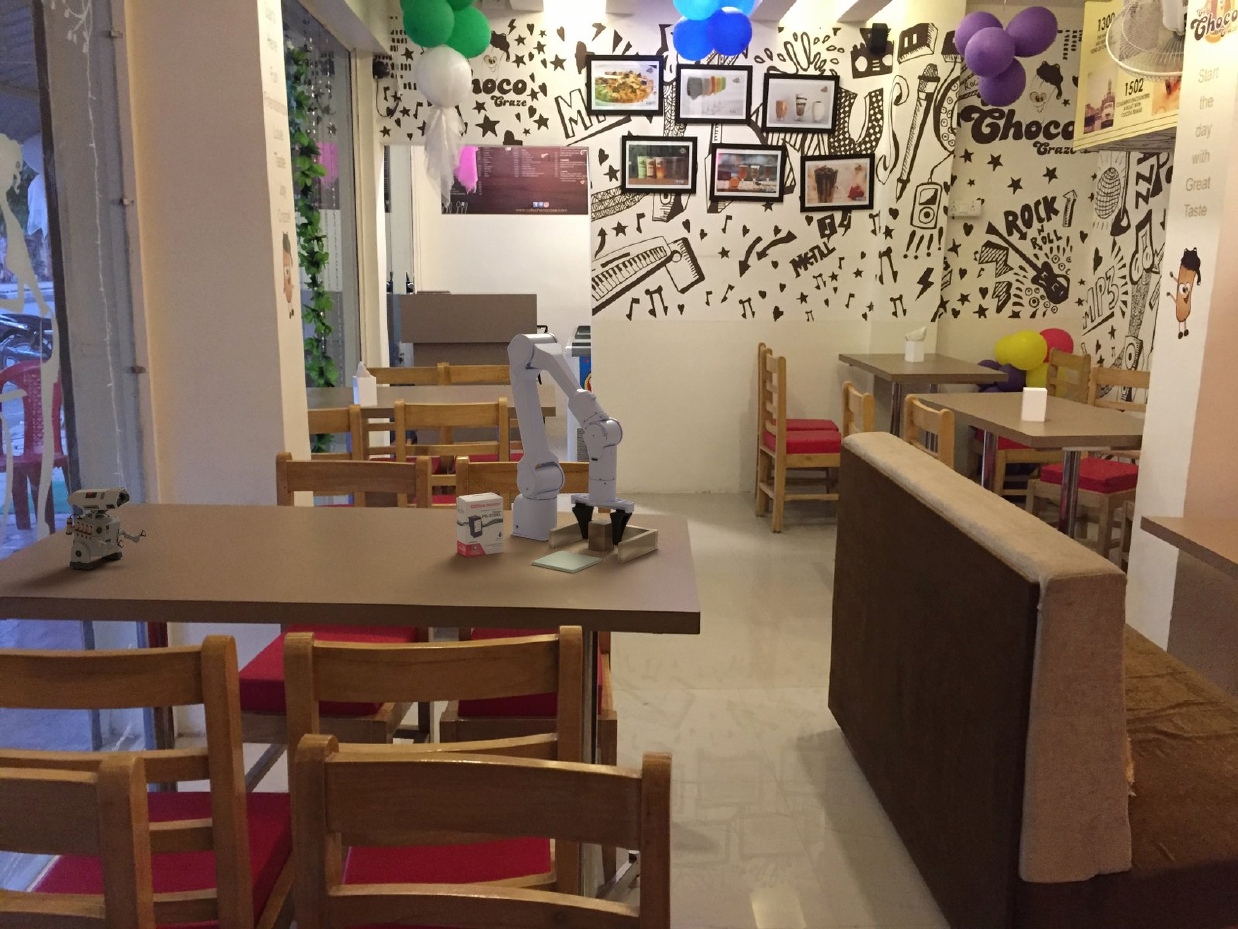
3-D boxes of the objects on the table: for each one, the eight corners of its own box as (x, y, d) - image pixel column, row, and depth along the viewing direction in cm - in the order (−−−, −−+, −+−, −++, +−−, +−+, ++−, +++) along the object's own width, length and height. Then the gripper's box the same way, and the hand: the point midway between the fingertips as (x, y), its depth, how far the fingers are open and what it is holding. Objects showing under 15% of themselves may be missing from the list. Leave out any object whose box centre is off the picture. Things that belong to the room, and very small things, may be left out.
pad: (531, 564, 198) (531, 561, 198) (561, 553, 206) (561, 550, 206) (573, 573, 193) (573, 570, 193) (601, 561, 201) (601, 558, 201)
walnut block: (588, 550, 210) (588, 522, 208) (598, 546, 213) (599, 518, 212) (604, 553, 207) (604, 525, 206) (614, 549, 211) (615, 521, 210)
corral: (548, 548, 210) (548, 530, 209) (585, 535, 221) (586, 517, 221) (623, 563, 200) (623, 543, 199) (657, 548, 212) (658, 529, 211)
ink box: (466, 558, 202) (466, 500, 200) (456, 552, 206) (455, 496, 204) (504, 552, 207) (504, 496, 205) (493, 546, 211) (493, 491, 209)
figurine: (114, 573, 187) (108, 495, 184) (63, 568, 190) (56, 491, 187) (148, 561, 196) (143, 485, 193) (98, 555, 199) (93, 481, 196)
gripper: (562, 476, 208) (562, 540, 210) (621, 485, 200) (620, 551, 203) (582, 471, 214) (581, 533, 216) (640, 479, 206) (638, 543, 209)
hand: (601, 541), depth 210 cm, fingers open, 7 cm apart
